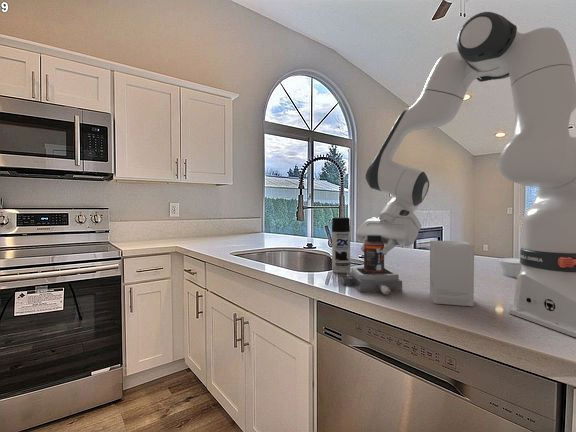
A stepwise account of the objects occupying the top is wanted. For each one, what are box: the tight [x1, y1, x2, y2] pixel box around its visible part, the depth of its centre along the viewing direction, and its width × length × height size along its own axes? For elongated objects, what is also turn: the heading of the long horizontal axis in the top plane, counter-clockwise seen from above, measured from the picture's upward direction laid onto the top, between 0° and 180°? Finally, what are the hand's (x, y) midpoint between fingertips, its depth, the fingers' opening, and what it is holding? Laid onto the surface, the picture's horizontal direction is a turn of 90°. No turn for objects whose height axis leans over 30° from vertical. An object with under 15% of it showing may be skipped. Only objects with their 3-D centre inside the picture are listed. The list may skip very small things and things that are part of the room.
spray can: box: [331, 217, 352, 274], centre depth 118 cm, size 7×7×20 cm
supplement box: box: [429, 240, 475, 308], centre depth 82 cm, size 9×9×15 cm
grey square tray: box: [340, 266, 403, 296], centre depth 95 cm, size 19×15×4 cm
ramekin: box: [498, 257, 522, 279], centre depth 109 cm, size 11×11×5 cm
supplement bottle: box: [363, 235, 385, 274], centre depth 97 cm, size 6×6×11 cm
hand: (372, 252), depth 97 cm, fingers closed on supplement bottle, 6 cm apart
